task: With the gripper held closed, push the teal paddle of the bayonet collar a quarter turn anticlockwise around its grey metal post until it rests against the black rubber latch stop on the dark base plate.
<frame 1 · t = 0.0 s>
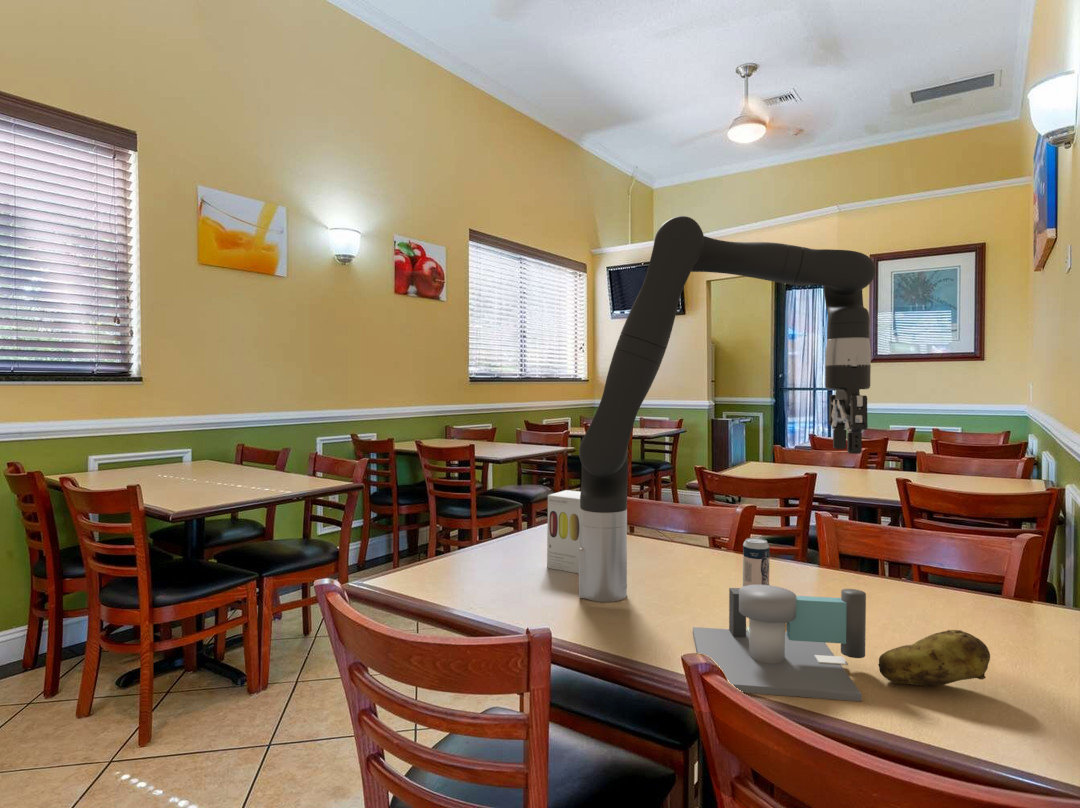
hand: (846, 451, 116), 29 cm above the table, fingers open, 8 cm apart
beer can: (755, 604, 119), on the table
potato: (932, 688, 86), on the table
lever: (801, 619, 92), point 7 cm above the table, hinge at 0.0°
supplement box: (573, 567, 144), on the table
post base: (766, 662, 93), on the table
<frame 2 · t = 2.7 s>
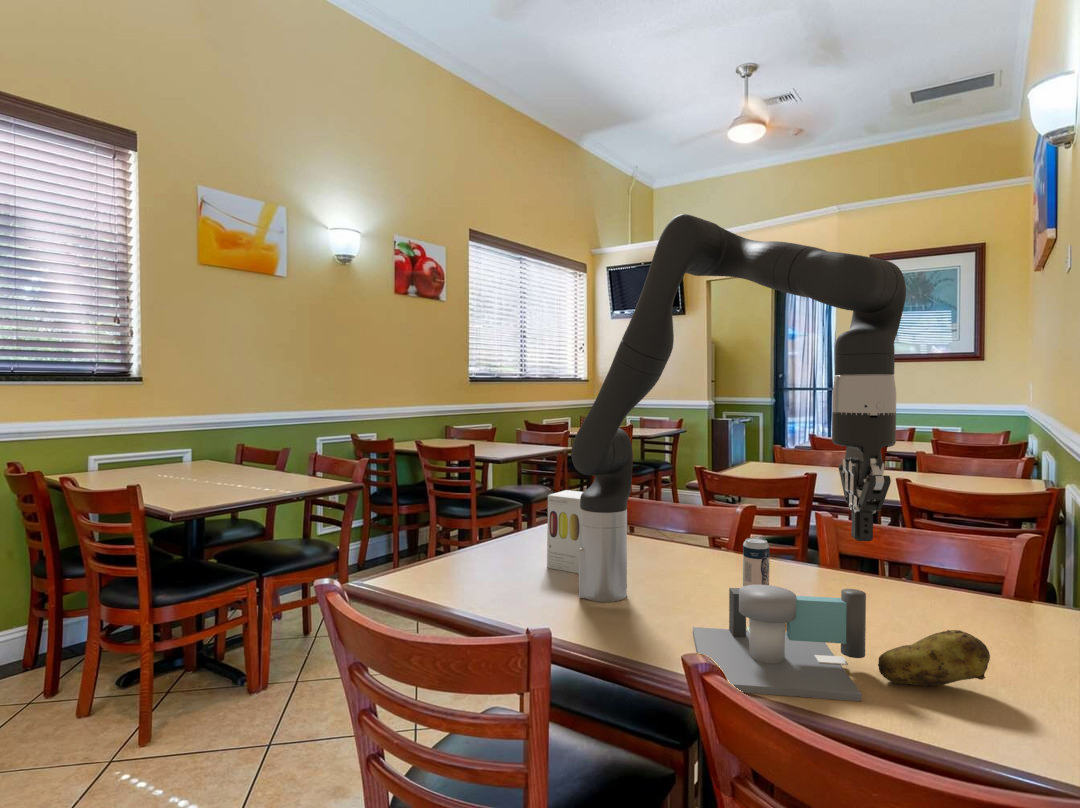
hand: (862, 539, 83), 21 cm above the table, fingers closed
nothing on the table moved.
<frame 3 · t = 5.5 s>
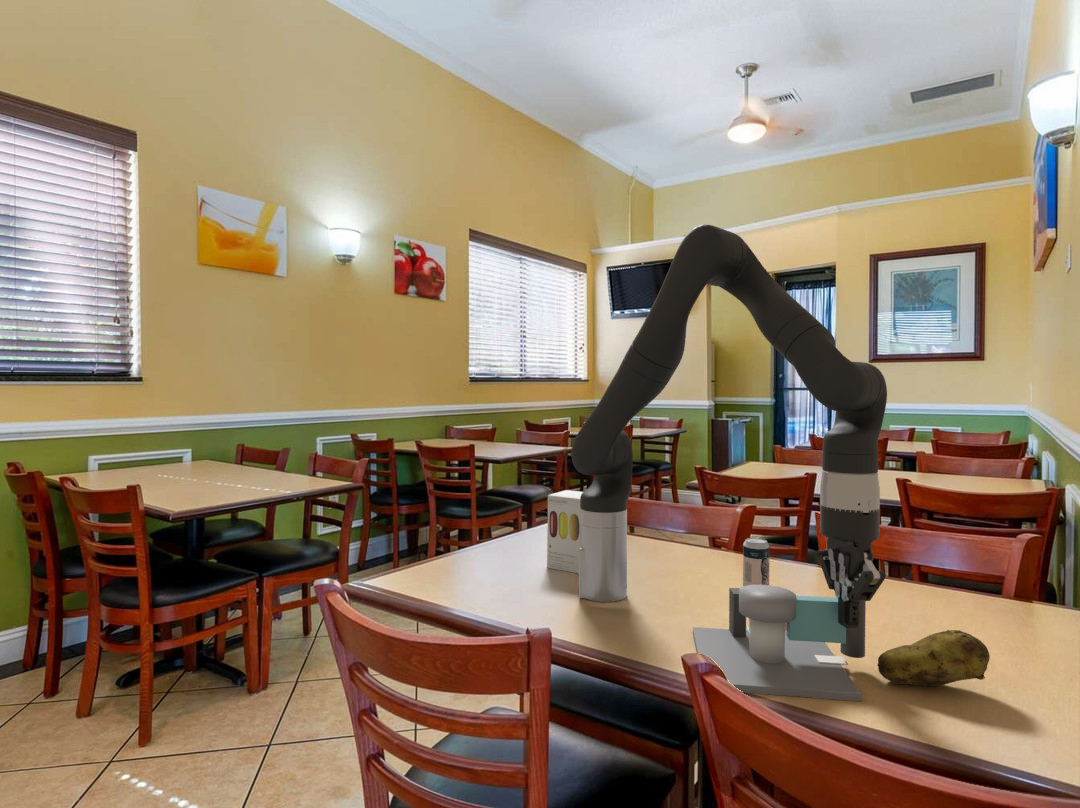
hand: (848, 626, 88), 7 cm above the table, fingers closed
lever: (800, 619, 92), point 7 cm above the table, hinge at 0.5°, touching gripper
everything else where it was.
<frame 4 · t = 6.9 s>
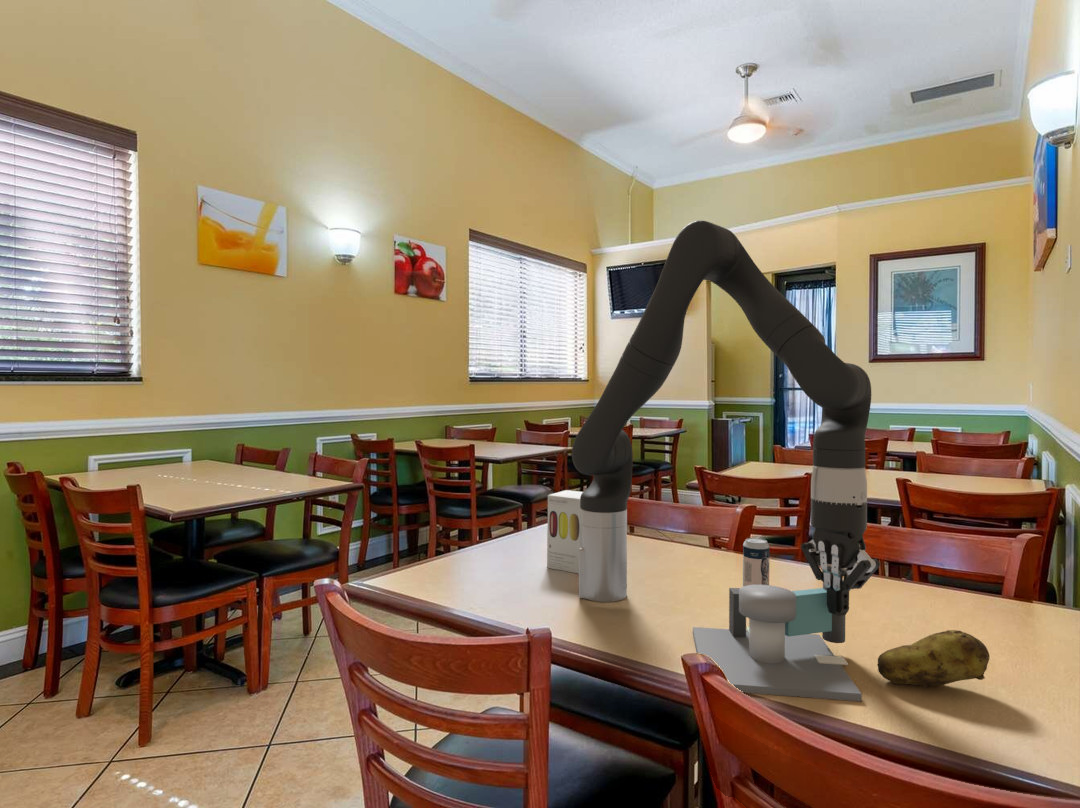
hand: (837, 613, 93), 8 cm above the table, fingers closed
lever: (794, 614, 94), point 7 cm above the table, hinge at 25.6°, touching gripper
everything else where it was.
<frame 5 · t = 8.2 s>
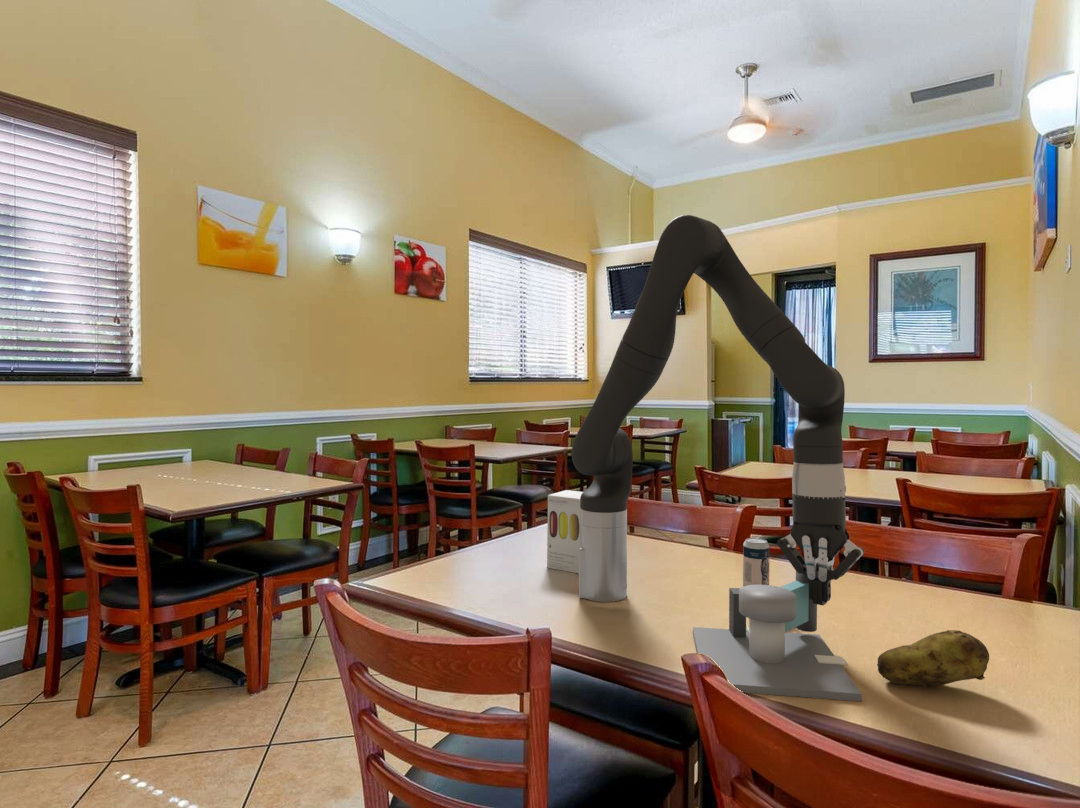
hand: (820, 603, 97), 8 cm above the table, fingers closed
lever: (783, 610, 96), point 7 cm above the table, hinge at 49.8°, touching gripper
everything else where it was.
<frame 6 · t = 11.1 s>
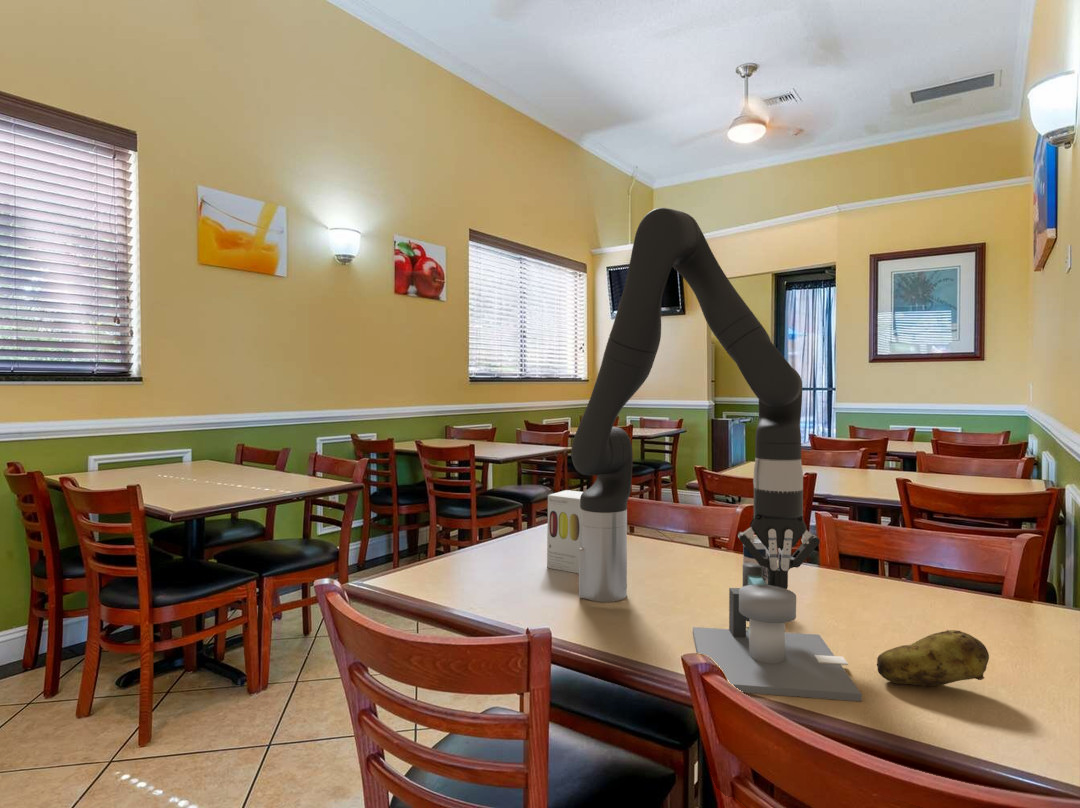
hand: (777, 591, 102), 8 cm above the table, fingers closed
lever: (760, 606, 98), point 7 cm above the table, hinge at 90.5°
everything else where it was.
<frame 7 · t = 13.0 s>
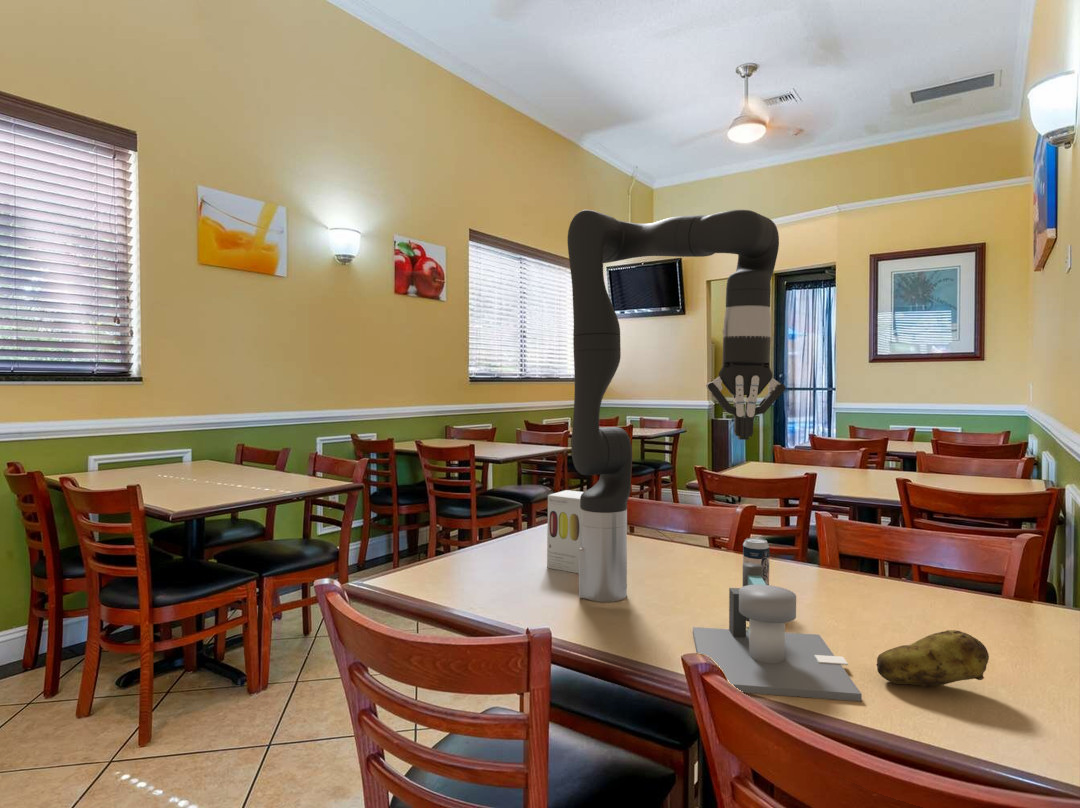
hand: (743, 439, 105), 32 cm above the table, fingers closed
nothing on the table moved.
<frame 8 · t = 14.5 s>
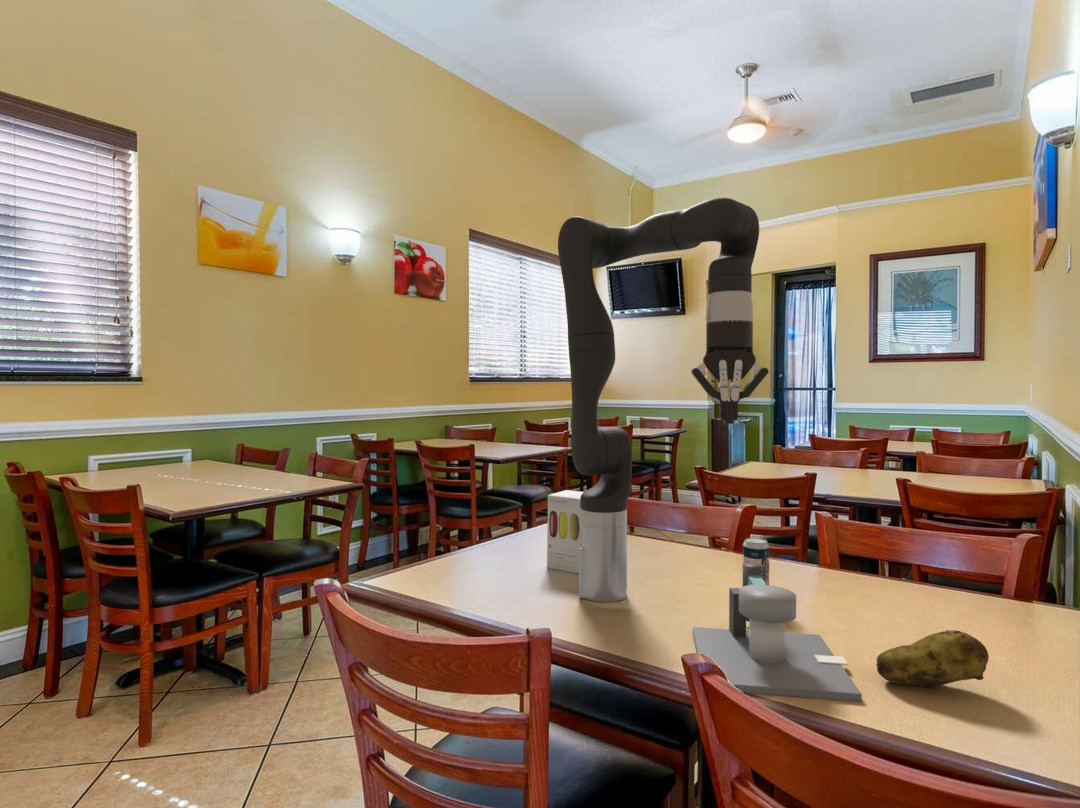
hand: (728, 423, 106), 35 cm above the table, fingers closed
nothing on the table moved.
at the end: lever at +90° (first picture: +0°); the gripper is holding nothing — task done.
